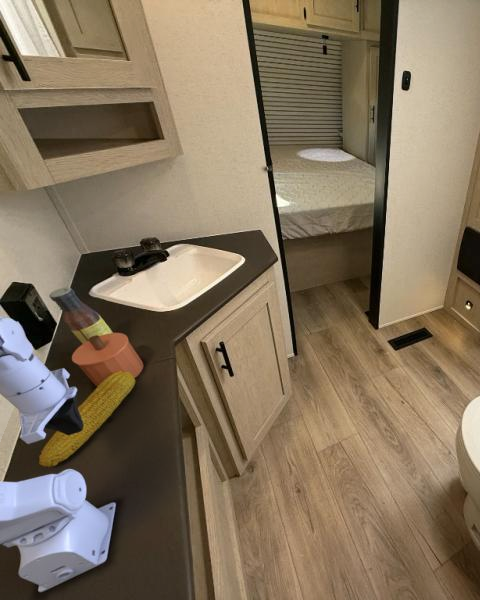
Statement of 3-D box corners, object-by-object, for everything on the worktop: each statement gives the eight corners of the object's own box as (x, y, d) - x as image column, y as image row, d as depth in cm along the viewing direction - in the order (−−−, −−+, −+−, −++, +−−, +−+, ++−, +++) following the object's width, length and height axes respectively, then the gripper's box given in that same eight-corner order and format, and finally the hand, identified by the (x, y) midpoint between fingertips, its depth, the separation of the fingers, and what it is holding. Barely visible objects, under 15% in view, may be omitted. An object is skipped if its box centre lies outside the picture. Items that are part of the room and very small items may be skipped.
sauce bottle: (126, 341, 89) (86, 282, 77) (116, 357, 84) (71, 297, 72) (99, 345, 88) (54, 285, 76) (87, 362, 83) (37, 300, 71)
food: (121, 383, 77) (108, 366, 74) (144, 384, 77) (132, 367, 74) (40, 472, 60) (18, 456, 57) (69, 473, 60) (49, 457, 57)
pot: (141, 379, 78) (124, 355, 73) (91, 395, 74) (69, 370, 69) (145, 354, 85) (129, 330, 80) (99, 367, 81) (80, 342, 76)
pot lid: (126, 357, 73) (117, 345, 71) (69, 374, 69) (57, 361, 67) (132, 331, 81) (124, 318, 78) (80, 344, 77) (70, 331, 74)
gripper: (43, 406, 47) (94, 454, 55) (70, 345, 57) (110, 393, 65) (-23, 426, 44) (40, 474, 52) (18, 358, 55) (65, 406, 63)
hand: (76, 430), depth 59 cm, fingers closed
